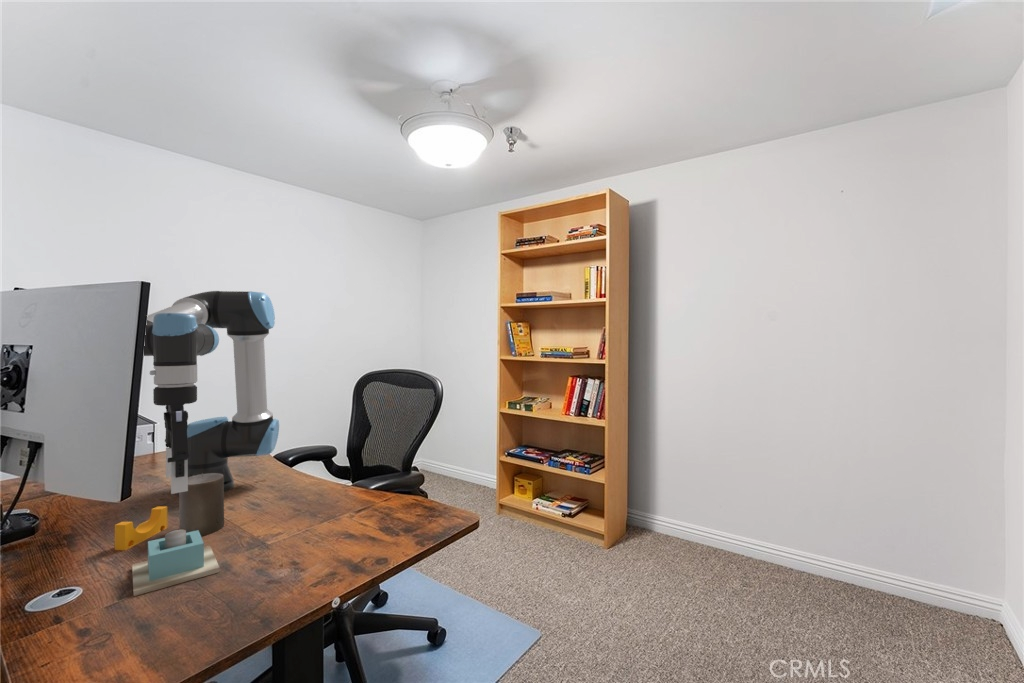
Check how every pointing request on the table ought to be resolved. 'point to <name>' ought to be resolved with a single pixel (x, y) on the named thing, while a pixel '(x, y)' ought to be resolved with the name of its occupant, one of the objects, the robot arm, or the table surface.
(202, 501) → the pillar candle
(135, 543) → the pipe clamp
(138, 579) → the post block
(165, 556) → the collar
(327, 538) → the table surface
